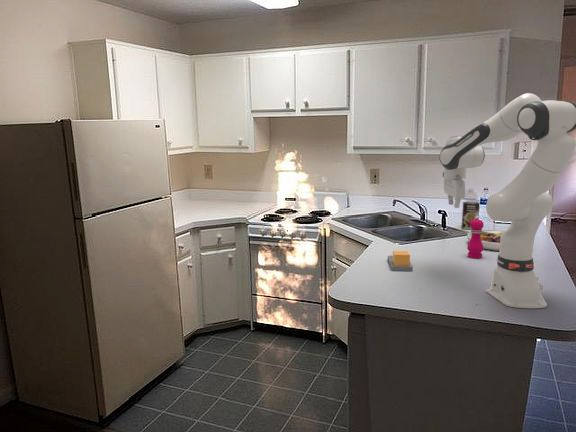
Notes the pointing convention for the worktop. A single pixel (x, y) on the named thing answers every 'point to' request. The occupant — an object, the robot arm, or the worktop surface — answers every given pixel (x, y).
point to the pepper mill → (475, 239)
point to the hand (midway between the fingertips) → (453, 206)
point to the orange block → (401, 258)
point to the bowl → (489, 239)
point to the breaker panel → (398, 268)
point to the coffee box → (469, 214)
